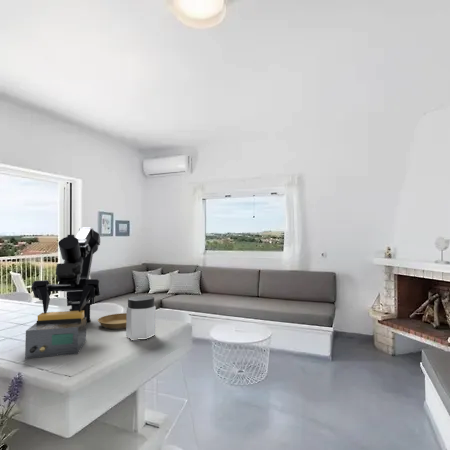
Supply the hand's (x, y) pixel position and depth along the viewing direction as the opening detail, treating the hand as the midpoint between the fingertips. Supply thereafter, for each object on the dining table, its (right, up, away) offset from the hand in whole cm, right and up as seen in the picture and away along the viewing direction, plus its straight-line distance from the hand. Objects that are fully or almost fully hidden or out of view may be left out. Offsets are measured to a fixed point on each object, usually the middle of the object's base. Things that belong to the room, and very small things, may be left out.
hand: (62, 311), depth 92 cm
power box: (+1, -9, -4) cm, 10 cm away
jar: (+21, -10, +7) cm, 24 cm away
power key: (0, -2, -1) cm, 2 cm away
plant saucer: (+10, -11, +21) cm, 26 cm away
